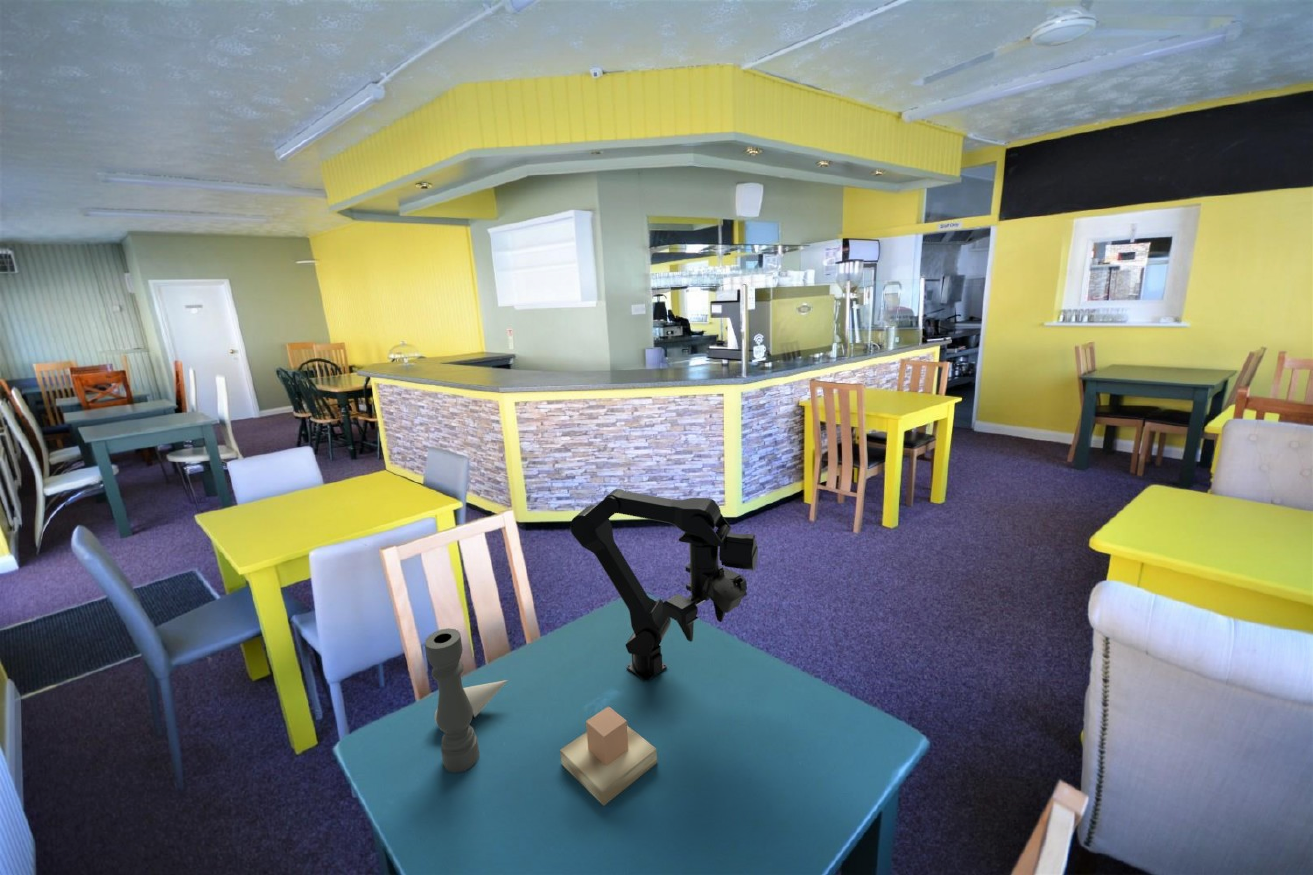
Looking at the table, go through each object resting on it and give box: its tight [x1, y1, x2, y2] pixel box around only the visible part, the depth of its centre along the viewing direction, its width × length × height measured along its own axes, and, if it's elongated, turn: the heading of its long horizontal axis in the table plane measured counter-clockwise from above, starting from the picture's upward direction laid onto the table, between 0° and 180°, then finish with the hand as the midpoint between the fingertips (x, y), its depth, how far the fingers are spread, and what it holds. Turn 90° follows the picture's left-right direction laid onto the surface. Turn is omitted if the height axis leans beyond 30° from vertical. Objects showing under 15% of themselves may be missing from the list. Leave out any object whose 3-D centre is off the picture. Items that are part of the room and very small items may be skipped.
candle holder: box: [424, 628, 480, 774], centre depth 100 cm, size 6×6×25 cm
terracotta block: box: [585, 706, 628, 766], centre depth 100 cm, size 5×5×6 cm
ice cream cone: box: [434, 679, 509, 726], centre depth 114 cm, size 6×6×15 cm
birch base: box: [559, 725, 658, 807], centre depth 101 cm, size 12×12×3 cm
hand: (705, 630), depth 118 cm, fingers open, 9 cm apart
